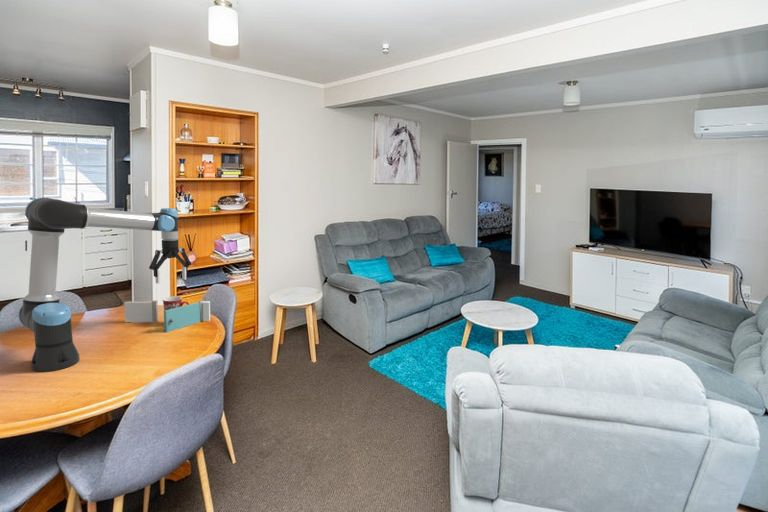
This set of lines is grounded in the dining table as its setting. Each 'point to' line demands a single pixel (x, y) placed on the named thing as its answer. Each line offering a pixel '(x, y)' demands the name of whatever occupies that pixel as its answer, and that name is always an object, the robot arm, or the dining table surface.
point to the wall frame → (156, 311)
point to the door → (181, 316)
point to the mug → (173, 302)
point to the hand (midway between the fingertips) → (171, 281)
